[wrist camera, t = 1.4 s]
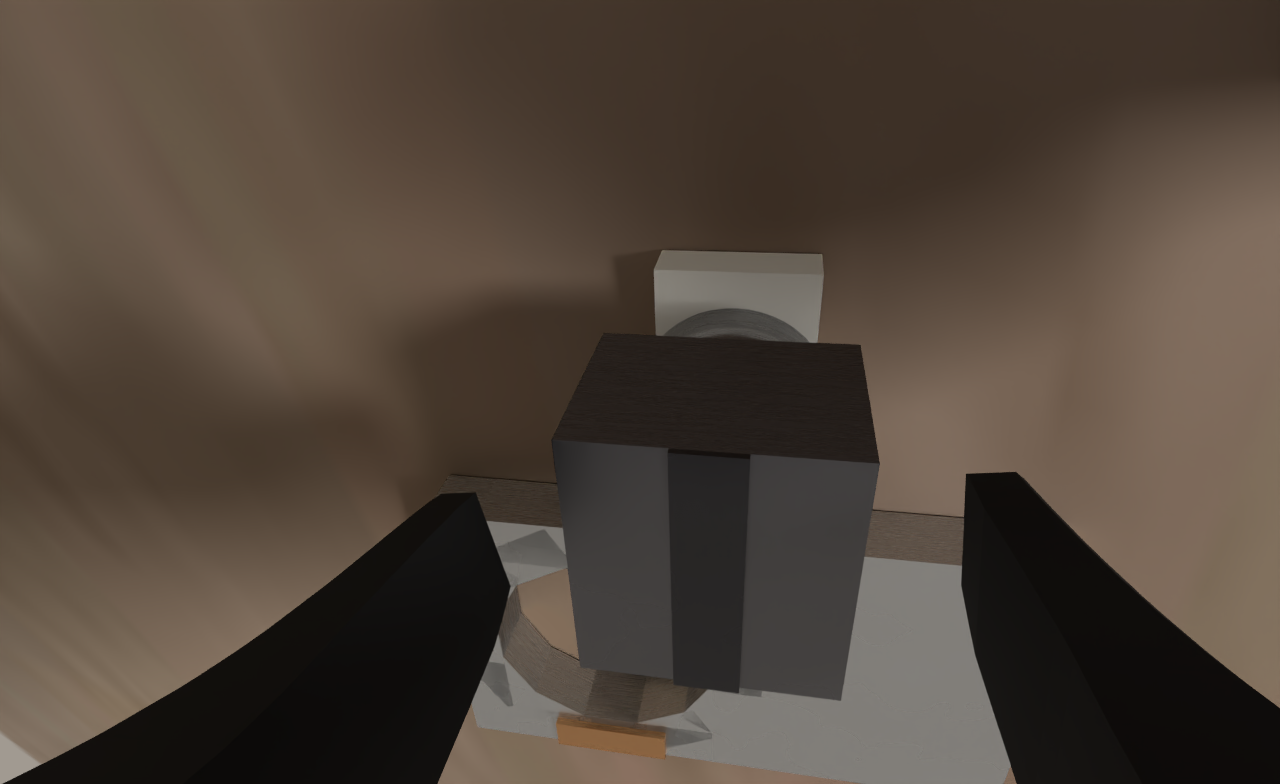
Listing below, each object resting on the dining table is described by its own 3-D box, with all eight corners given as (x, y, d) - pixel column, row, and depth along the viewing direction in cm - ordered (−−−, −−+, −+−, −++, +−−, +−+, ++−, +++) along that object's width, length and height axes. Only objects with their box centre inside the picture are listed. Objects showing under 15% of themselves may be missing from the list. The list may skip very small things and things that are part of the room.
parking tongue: (822, 253, 13) (824, 275, 13) (801, 469, 16) (802, 498, 15) (662, 249, 14) (653, 269, 13) (667, 459, 17) (660, 486, 16)
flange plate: (1059, 526, 16) (1085, 584, 14) (983, 748, 20) (998, 810, 18) (449, 475, 18) (419, 520, 17) (495, 682, 22) (475, 733, 21)
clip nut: (851, 291, 13) (880, 469, 8) (828, 488, 15) (841, 706, 11) (627, 284, 13) (549, 444, 9) (637, 473, 16) (578, 672, 11)
